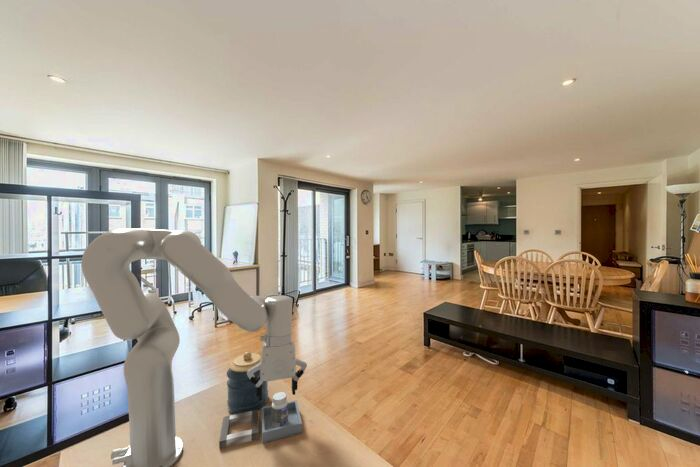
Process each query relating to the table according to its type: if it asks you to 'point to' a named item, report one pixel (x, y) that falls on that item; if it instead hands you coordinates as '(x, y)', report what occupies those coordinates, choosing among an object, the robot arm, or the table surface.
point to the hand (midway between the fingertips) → (277, 394)
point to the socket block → (240, 436)
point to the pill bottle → (279, 410)
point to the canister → (244, 385)
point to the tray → (284, 431)
